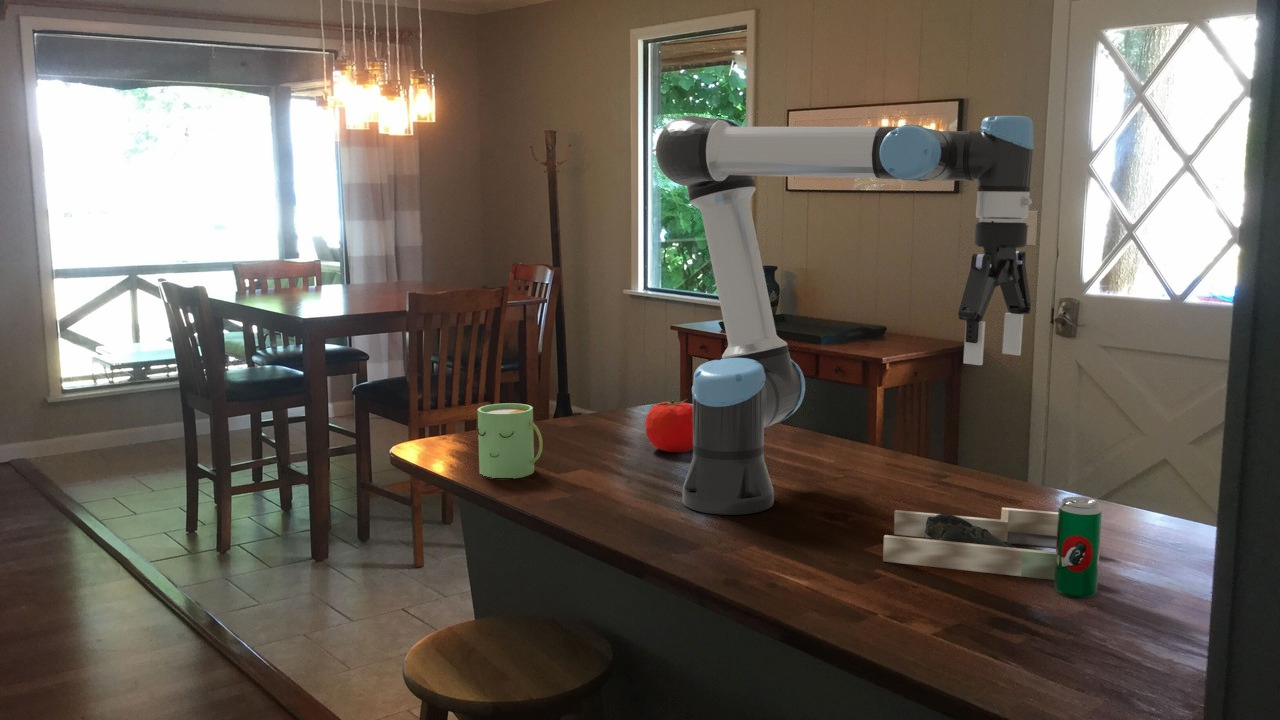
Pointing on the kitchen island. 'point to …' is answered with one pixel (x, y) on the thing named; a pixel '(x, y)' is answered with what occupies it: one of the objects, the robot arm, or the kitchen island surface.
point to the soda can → (1077, 547)
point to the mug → (507, 440)
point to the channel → (976, 557)
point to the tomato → (671, 426)
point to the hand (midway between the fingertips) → (992, 359)
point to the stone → (960, 531)
